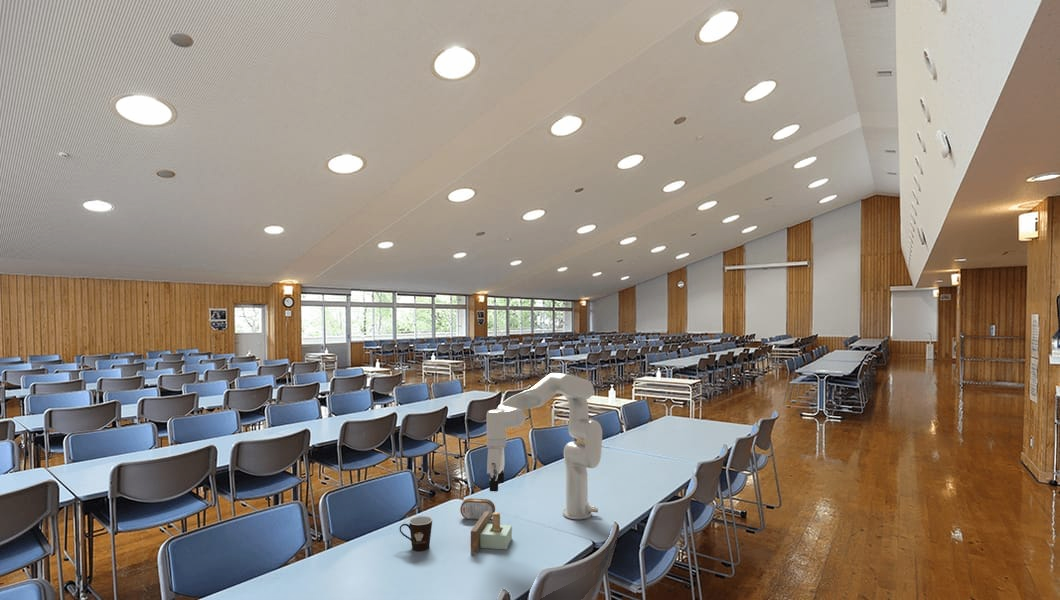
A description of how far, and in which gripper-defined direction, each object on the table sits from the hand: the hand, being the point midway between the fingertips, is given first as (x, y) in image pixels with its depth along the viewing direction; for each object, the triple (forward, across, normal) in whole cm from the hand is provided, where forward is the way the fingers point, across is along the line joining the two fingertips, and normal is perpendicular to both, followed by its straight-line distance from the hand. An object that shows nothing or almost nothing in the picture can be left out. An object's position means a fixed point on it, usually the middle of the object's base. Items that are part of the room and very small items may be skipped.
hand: (497, 486), depth 196 cm
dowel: (+20, 0, 0) cm, 20 cm away
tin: (+22, -22, -14) cm, 34 cm away
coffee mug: (+21, +8, -29) cm, 37 cm away
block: (+21, 0, 0) cm, 21 cm away
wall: (+21, 0, -7) cm, 22 cm away
